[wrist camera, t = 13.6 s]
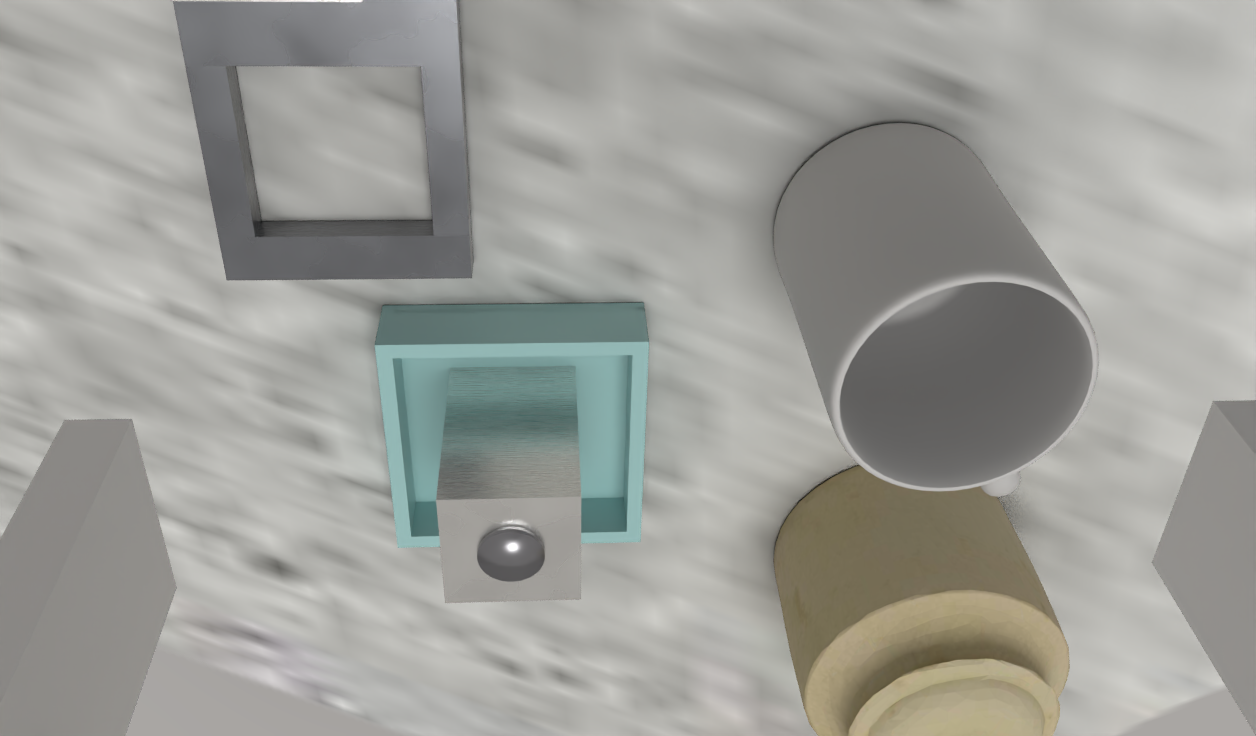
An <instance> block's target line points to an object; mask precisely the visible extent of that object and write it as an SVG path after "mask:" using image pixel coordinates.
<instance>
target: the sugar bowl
mask: <svg viewBox="0 0 1256 736" xmlns="http://www.w3.org/2000/svg"><path fill="white" fill-rule="evenodd" d="M774 568H775V575H776V581H777V586H778V591H779V596H780V601H781V607H782V612H783V617H784V623H785V628H786V633H787V638H788V643H789V648H790V652H791V657H792V661H793V665H794V669H795V673H796V677H797V681H798V685H799V689H800V693H801V698H802V702H803V706H804V709H805V712H806V715H807V718H808V720H809V723H810V725H811V727H812V728H813V729H814V731H815V732H816V733H817V735H818V736H1052V735H1053V733H1054V731H1055V729H1056V726H1057V723H1058V719H1059V715H1060V704H1059V701H1058V697H1059V696H1060V694H1061V692H1062V690H1063V689H1064V686H1065V683H1066V681H1067V677H1068V672H1069V668H1070V664H1069V649H1068V645H1067V643H1066V640H1065V637H1064V635H1063V632H1062V630H1061V627H1060V625H1059V623H1058V620H1057V618H1056V616H1055V613H1054V611H1053V609H1052V606H1051V604H1050V602H1049V600H1048V597H1047V595H1046V593H1045V590H1044V588H1043V586H1042V584H1041V582H1040V580H1039V577H1038V575H1037V573H1036V571H1035V569H1034V567H1033V565H1032V563H1031V561H1030V559H1029V557H1028V555H1027V553H1026V551H1025V549H1024V547H1023V545H1022V543H1021V542H1020V540H1019V538H1018V536H1017V534H1016V532H1015V530H1014V528H1013V526H1012V525H1011V523H1010V521H1009V519H1008V517H1007V515H1006V513H1005V511H1004V509H1003V507H1002V505H1001V503H1000V501H999V500H998V498H997V497H996V496H990V495H988V494H987V493H985V492H984V491H983V489H982V488H981V487H980V486H978V487H974V488H969V489H963V490H956V491H922V490H915V489H909V488H905V487H901V486H898V485H894V484H891V483H889V482H887V481H884V480H882V479H880V478H878V477H876V476H874V475H873V474H871V473H869V472H868V471H866V470H865V469H864V468H863V467H861V466H860V465H859V466H856V467H853V468H851V469H849V470H846V471H844V472H842V473H840V474H837V475H835V476H834V477H832V478H830V479H829V480H827V481H826V482H824V483H823V484H821V485H820V486H818V487H817V488H815V489H814V490H812V491H811V492H810V493H809V494H808V495H807V496H806V497H805V498H803V499H802V500H801V501H800V502H799V503H798V504H797V505H796V507H795V508H794V509H793V510H792V512H791V513H790V514H789V516H788V517H787V519H786V520H785V522H784V524H783V526H782V527H781V530H780V533H779V536H778V539H777V542H776V546H775V552H774Z"/></svg>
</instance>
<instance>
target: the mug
mask: <svg viewBox="0 0 1256 736" xmlns="http://www.w3.org/2000/svg"><path fill="white" fill-rule="evenodd" d="M773 241H774V252H775V257H776V261H777V265H778V269H779V272H780V275H781V278H782V280H783V283H784V285H785V288H786V290H787V293H788V296H789V298H790V301H791V304H792V307H793V310H794V313H795V316H796V319H797V322H798V325H799V328H800V331H801V334H802V337H803V340H804V343H805V346H806V349H807V352H808V355H809V358H810V361H811V364H812V367H813V370H814V373H815V376H816V379H817V382H818V385H819V388H820V391H821V394H822V397H823V400H824V403H825V406H826V409H827V412H828V415H829V418H830V421H831V423H832V426H833V428H834V430H835V433H836V435H837V437H838V439H839V441H840V442H841V444H842V445H843V447H844V449H845V450H846V452H847V453H848V454H849V455H850V456H851V457H852V458H853V459H854V461H855V462H857V463H858V464H859V465H860V466H861V467H863V468H864V469H865V470H866V471H868V472H869V473H871V474H873V475H874V476H876V477H878V478H880V479H882V480H884V481H887V482H889V483H891V484H894V485H898V486H901V487H905V488H909V489H915V490H922V491H956V490H963V489H969V488H974V487H978V486H980V487H981V488H982V489H983V491H984V492H985V493H987V494H988V495H990V496H996V497H1000V496H1004V495H1008V494H1010V493H1011V492H1013V491H1015V490H1016V488H1017V487H1018V486H1019V485H1020V479H1021V476H1020V472H1019V471H1020V470H1022V469H1024V468H1026V467H1027V466H1029V465H1031V464H1033V463H1034V462H1036V461H1037V460H1038V459H1040V458H1041V457H1043V456H1044V455H1046V454H1047V453H1048V452H1049V451H1050V450H1051V449H1053V448H1054V447H1055V446H1056V445H1057V444H1058V443H1059V442H1060V441H1061V440H1062V439H1063V438H1064V437H1065V436H1066V435H1067V434H1068V433H1069V432H1070V431H1071V429H1072V428H1073V427H1074V425H1075V424H1076V423H1077V421H1078V420H1079V419H1080V417H1081V415H1082V414H1083V412H1084V410H1085V408H1086V407H1087V405H1088V403H1089V400H1090V398H1091V396H1092V393H1093V391H1094V387H1095V383H1096V380H1097V375H1098V366H1099V357H1098V345H1097V340H1096V336H1095V332H1094V330H1093V328H1092V325H1091V323H1090V321H1089V318H1088V316H1087V314H1086V313H1085V311H1084V310H1083V308H1082V307H1081V305H1080V304H1079V302H1078V301H1077V299H1076V298H1075V296H1074V295H1073V293H1072V292H1071V290H1070V289H1069V288H1068V286H1067V285H1066V283H1065V282H1064V280H1063V279H1062V278H1061V276H1060V275H1059V273H1058V272H1057V271H1056V269H1055V268H1054V266H1053V265H1052V264H1051V262H1050V261H1049V259H1048V258H1047V257H1046V255H1045V254H1044V252H1043V251H1042V249H1041V248H1040V247H1039V245H1038V244H1037V242H1036V241H1035V240H1034V238H1033V237H1032V235H1031V234H1030V233H1029V231H1028V230H1027V228H1026V227H1025V225H1024V224H1023V223H1022V221H1021V220H1020V218H1019V217H1018V216H1017V214H1016V213H1015V211H1014V210H1013V209H1012V207H1011V206H1010V204H1009V203H1008V201H1007V200H1006V199H1005V197H1004V196H1003V194H1002V193H1001V191H1000V189H999V188H998V186H997V185H996V183H995V181H994V180H993V178H992V177H991V175H990V174H989V172H988V171H987V169H986V168H985V166H984V165H983V163H982V162H981V161H980V160H979V159H978V158H977V156H976V155H975V154H974V153H973V152H972V151H971V150H970V149H969V148H968V147H967V146H965V145H964V144H963V143H961V142H960V141H959V140H957V139H955V138H954V137H952V136H950V135H948V134H946V133H944V132H942V131H939V130H937V129H934V128H932V127H927V126H923V125H919V124H909V123H887V124H881V125H874V126H870V127H867V128H863V129H860V130H857V131H854V132H852V133H849V134H847V135H844V136H842V137H841V138H839V139H837V140H835V141H833V142H831V143H830V144H828V145H827V146H826V147H824V148H823V149H821V150H820V151H818V152H817V153H816V154H815V155H814V156H813V157H812V158H810V159H809V160H808V161H807V162H806V163H805V164H804V165H803V167H802V168H801V169H800V170H799V171H798V172H797V173H796V175H795V176H794V178H793V179H792V181H791V182H790V184H789V185H788V187H787V189H786V191H785V193H784V195H783V197H782V199H781V202H780V204H779V207H778V210H777V215H776V219H775V224H774V237H773Z"/></svg>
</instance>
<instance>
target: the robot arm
mask: <svg viewBox="0 0 1256 736" xmlns="http://www.w3.org/2000/svg"><path fill="white" fill-rule="evenodd" d="M1152 564H1153V565H1154V567H1155V569H1156V570H1157V572H1158V574H1159V575H1160V577H1161V579H1162V580H1163V582H1164V584H1165V585H1166V587H1167V589H1168V590H1169V592H1170V594H1171V595H1172V597H1173V599H1174V600H1175V602H1176V604H1177V605H1178V607H1179V609H1180V610H1181V612H1182V614H1183V615H1184V617H1185V619H1186V620H1187V622H1188V624H1189V625H1190V627H1191V629H1192V630H1193V632H1194V634H1195V635H1196V637H1197V639H1198V640H1199V642H1200V644H1201V645H1202V647H1203V649H1204V650H1205V652H1206V654H1207V655H1208V657H1209V659H1210V660H1211V662H1212V664H1213V665H1214V667H1215V669H1216V670H1217V672H1218V673H1219V675H1220V677H1221V678H1222V680H1223V682H1224V683H1225V685H1226V687H1227V688H1228V690H1229V692H1230V693H1231V695H1232V697H1233V698H1234V700H1235V702H1236V703H1237V705H1238V707H1239V708H1240V710H1241V712H1242V713H1243V715H1244V717H1245V718H1246V720H1247V722H1248V723H1249V725H1250V727H1251V728H1252V730H1253V732H1254V733H1255V735H1256V400H1251V401H1213V403H1212V406H1211V408H1210V411H1209V414H1208V416H1207V419H1206V421H1205V424H1204V427H1203V429H1202V432H1201V435H1200V437H1199V440H1198V442H1197V445H1196V448H1195V450H1194V453H1193V456H1192V458H1191V461H1190V463H1189V466H1188V469H1187V471H1186V474H1185V477H1184V479H1183V482H1182V485H1181V487H1180V490H1179V492H1178V495H1177V498H1176V500H1175V503H1174V506H1173V508H1172V511H1171V513H1170V516H1169V519H1168V521H1167V524H1166V527H1165V529H1164V532H1163V535H1162V537H1161V540H1160V542H1159V545H1158V548H1157V550H1156V553H1155V556H1154V558H1153V561H1152ZM176 588H177V587H176V583H175V579H174V576H173V572H172V568H171V564H170V560H169V557H168V553H167V549H166V545H165V542H164V538H163V534H162V530H161V527H160V523H159V519H158V515H157V512H156V508H155V504H154V500H153V497H152V493H151V489H150V485H149V482H148V478H147V474H146V470H145V466H144V463H143V459H142V455H141V451H140V448H139V444H138V440H137V436H136V433H135V429H134V425H133V421H132V419H94V420H64V422H63V424H62V426H61V428H60V429H59V431H58V433H57V435H56V437H55V439H54V441H53V442H52V444H51V446H50V448H49V450H48V452H47V454H46V455H45V457H44V459H43V461H42V463H41V465H40V467H39V468H38V470H37V472H36V474H35V476H34V478H33V480H32V481H31V483H30V485H29V487H28V489H27V491H26V493H25V494H24V496H23V498H22V500H21V502H20V504H19V506H18V507H17V509H16V511H15V513H14V515H13V517H12V519H11V520H10V522H9V524H8V526H7V528H6V530H5V532H4V533H3V535H2V537H1V539H0V736H125V735H126V733H127V730H128V727H129V724H130V721H131V718H132V715H133V712H134V709H135V706H136V704H137V701H138V698H139V695H140V692H141V689H142V686H143V683H144V680H145V678H146V675H147V672H148V669H149V666H150V663H151V660H152V657H153V654H154V652H155V649H156V646H157V643H158V640H159V637H160V634H161V631H162V628H163V625H164V623H165V620H166V617H167V614H168V611H169V608H170V605H171V602H172V599H173V597H174V594H175V591H176Z"/></svg>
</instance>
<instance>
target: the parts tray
mask: <svg viewBox="0 0 1256 736" xmlns="http://www.w3.org/2000/svg"><path fill="white" fill-rule="evenodd" d="M375 352H376V361H377V370H378V378H379V387H380V396H381V404H382V413H383V422H384V431H385V439H386V448H387V457H388V465H389V474H390V483H391V492H392V500H393V509H394V518H395V526H396V535H397V544H398V548H405V547H440V539H439V528H438V517H437V505H436V496H437V486H438V477H439V468H440V458H441V449H442V440H443V430H444V421H445V411H446V402H447V393H448V383H449V374H450V368H462V367H530V366H575V368H576V390H577V412H578V435H579V457H580V479H581V543H616V542H640V540H641V517H642V493H643V470H644V447H645V424H646V401H647V377H648V354H649V338H648V331H647V323H646V316H645V309H644V303H568V304H472V305H383V307H382V312H381V317H380V322H379V327H378V331H377V336H376V341H375Z"/></svg>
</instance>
